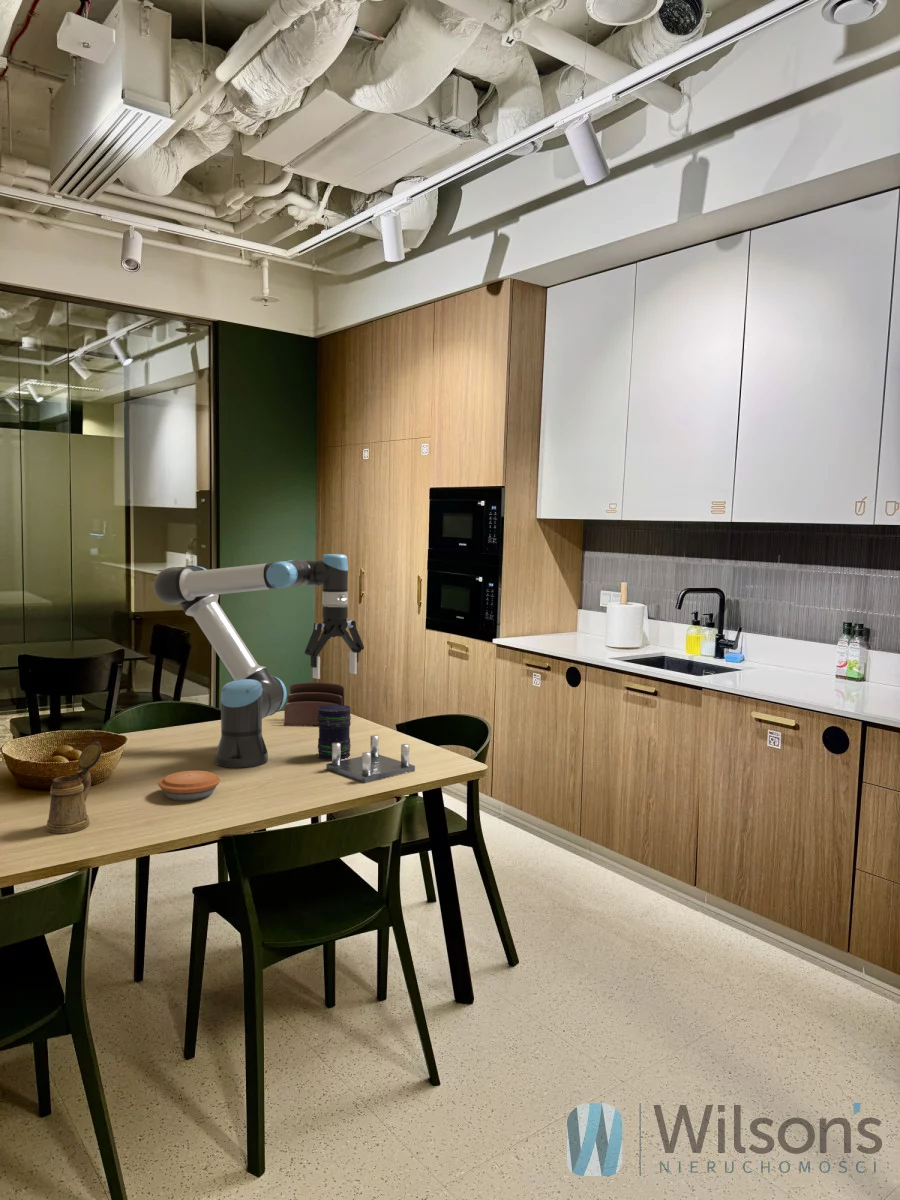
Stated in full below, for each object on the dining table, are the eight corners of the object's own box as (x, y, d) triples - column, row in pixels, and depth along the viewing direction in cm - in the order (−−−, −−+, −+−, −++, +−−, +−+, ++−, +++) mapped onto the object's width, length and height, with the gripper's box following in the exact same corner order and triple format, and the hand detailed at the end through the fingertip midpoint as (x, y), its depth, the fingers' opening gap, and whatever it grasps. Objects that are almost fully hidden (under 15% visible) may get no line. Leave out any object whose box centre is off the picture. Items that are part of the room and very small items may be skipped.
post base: (365, 782, 231) (365, 755, 230) (326, 769, 244) (326, 743, 243) (414, 770, 243) (415, 745, 243) (375, 758, 256) (375, 733, 256)
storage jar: (313, 753, 260) (314, 705, 259) (344, 750, 265) (344, 703, 263) (323, 762, 251) (323, 712, 250) (354, 758, 256) (355, 709, 254)
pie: (233, 790, 223) (233, 771, 223) (192, 807, 209) (192, 787, 209) (187, 782, 229) (186, 764, 229) (144, 798, 215) (144, 779, 215)
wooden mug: (113, 818, 200) (112, 743, 198) (64, 836, 188) (62, 756, 186) (87, 812, 204) (86, 738, 202) (37, 829, 192) (35, 751, 190)
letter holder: (290, 719, 308) (290, 681, 307) (344, 721, 307) (345, 682, 306) (283, 725, 298) (283, 686, 297) (340, 727, 297) (340, 687, 296)
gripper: (307, 608, 243) (307, 682, 245) (375, 604, 260) (375, 673, 262) (292, 606, 248) (292, 678, 250) (360, 602, 266) (360, 670, 267)
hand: (335, 675), depth 256 cm, fingers open, 13 cm apart
